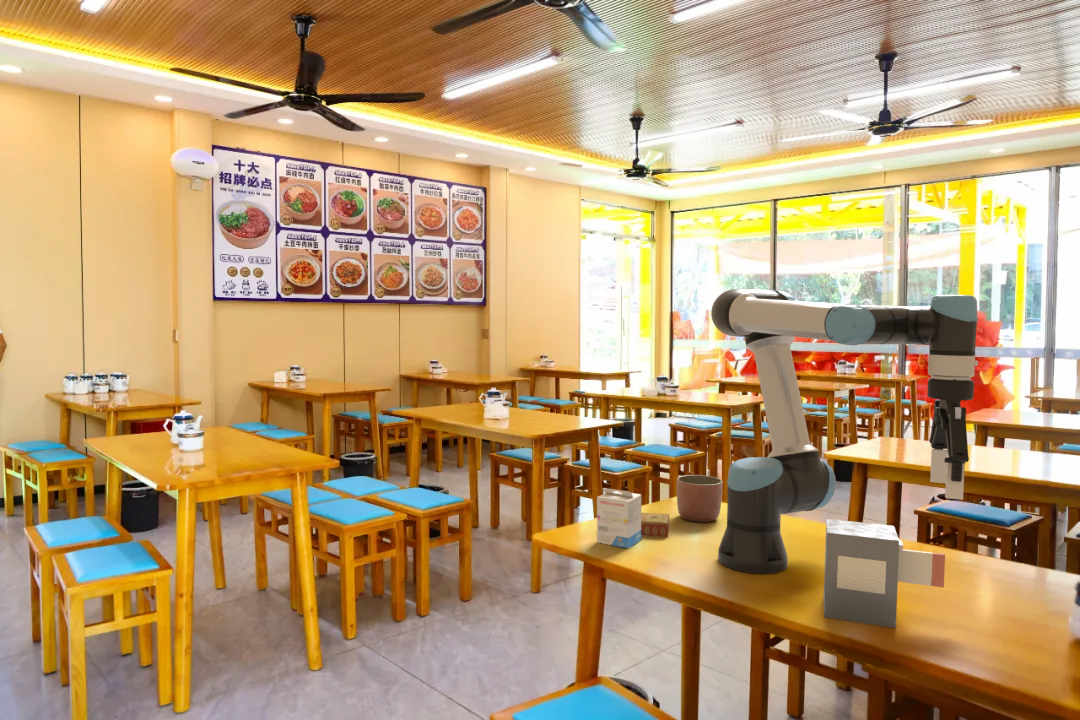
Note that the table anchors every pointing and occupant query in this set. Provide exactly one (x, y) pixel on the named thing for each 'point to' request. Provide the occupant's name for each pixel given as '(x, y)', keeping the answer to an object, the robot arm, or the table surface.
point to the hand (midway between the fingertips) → (945, 490)
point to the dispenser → (861, 572)
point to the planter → (699, 497)
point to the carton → (654, 524)
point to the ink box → (618, 518)
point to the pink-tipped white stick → (921, 568)
